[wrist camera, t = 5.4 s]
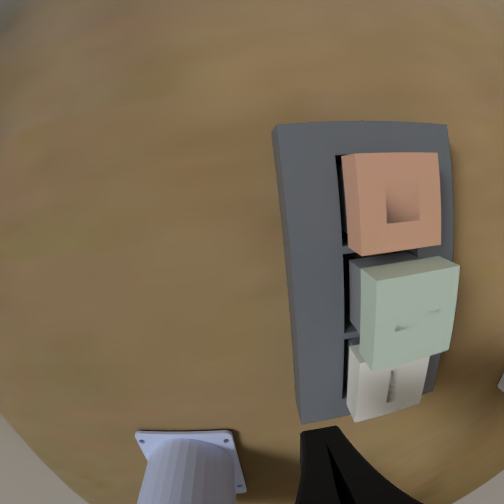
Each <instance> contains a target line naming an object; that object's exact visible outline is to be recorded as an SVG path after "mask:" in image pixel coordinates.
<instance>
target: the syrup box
mask: <svg viewBox="0 0 504 504" xmlns="http://www.w3.org/2000/svg"><path fill="white" fill-rule="evenodd" d="M497 386H498V388H499V389H500V390H501V391H502V392H504V373H503V375H502V377H501V379H500V381H499V383H498V385H497Z"/></svg>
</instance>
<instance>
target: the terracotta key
mask: <svg viewBox="0 0 504 504" xmlns="http://www.w3.org/2000/svg"><path fill="white" fill-rule="evenodd" d="M341 159H342V165H337V166H336V170H337V180H338V191H339V202H340V216H341V231H343V232H345V233H347V234H348V247H349V248H350V249H352V250H353V251H355V252H356V253H358V254H359V255H361V256H367V255H374V254H381V253H388V252H395V251H402V250H408V249H415V248H422V247H429V246H435V245H441V194H440V176H439V163H438V153H427V152H392V153H356V154H349V155H344V156H341Z"/></svg>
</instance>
